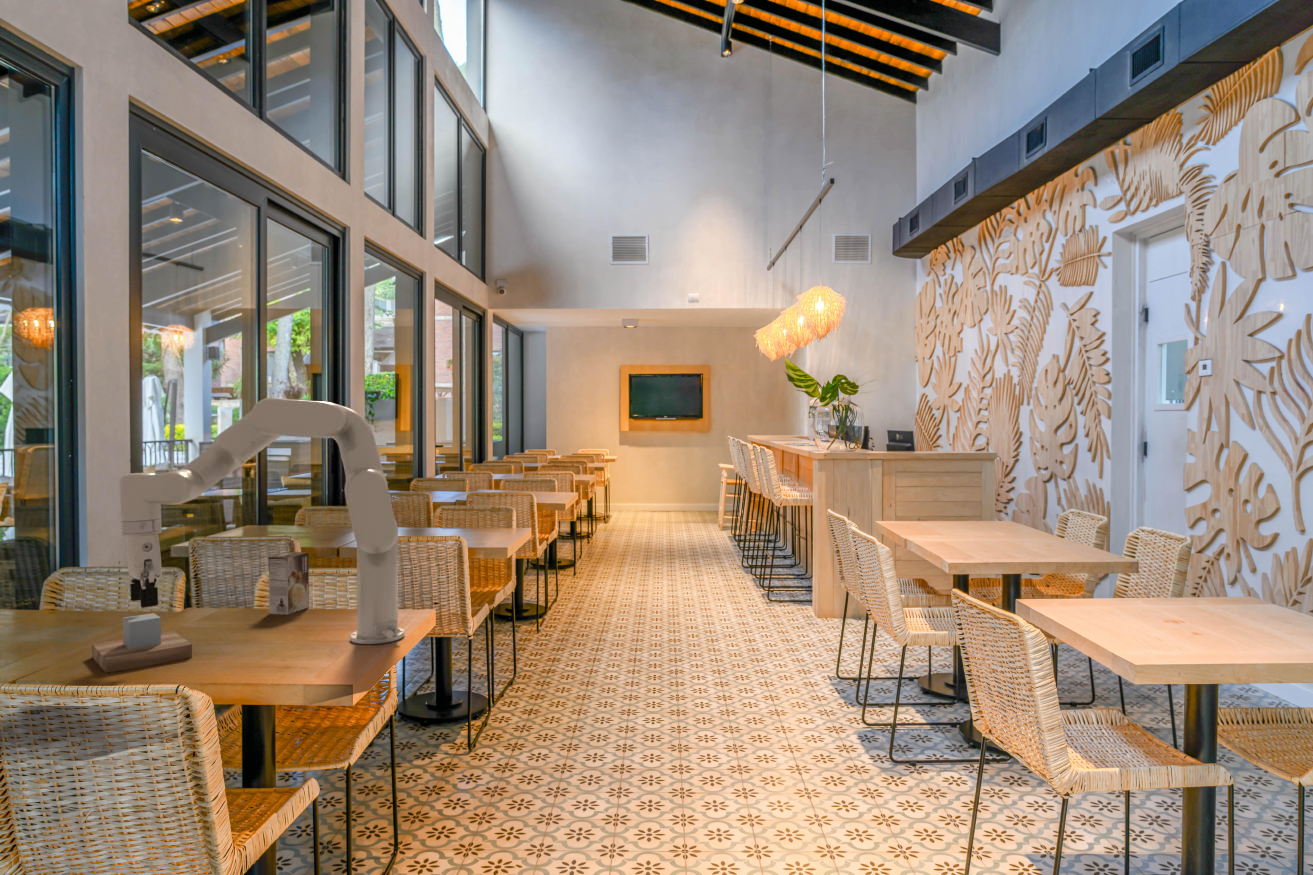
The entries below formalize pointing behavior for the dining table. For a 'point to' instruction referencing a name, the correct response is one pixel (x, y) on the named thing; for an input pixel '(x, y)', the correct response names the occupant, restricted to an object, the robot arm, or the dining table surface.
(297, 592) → the coffee box
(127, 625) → the light grey cube
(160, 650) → the walnut base
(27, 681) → the dining table surface
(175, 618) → the dining table surface
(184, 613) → the dining table surface
